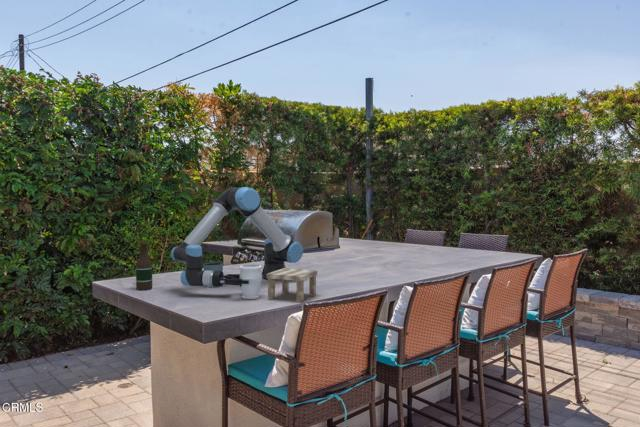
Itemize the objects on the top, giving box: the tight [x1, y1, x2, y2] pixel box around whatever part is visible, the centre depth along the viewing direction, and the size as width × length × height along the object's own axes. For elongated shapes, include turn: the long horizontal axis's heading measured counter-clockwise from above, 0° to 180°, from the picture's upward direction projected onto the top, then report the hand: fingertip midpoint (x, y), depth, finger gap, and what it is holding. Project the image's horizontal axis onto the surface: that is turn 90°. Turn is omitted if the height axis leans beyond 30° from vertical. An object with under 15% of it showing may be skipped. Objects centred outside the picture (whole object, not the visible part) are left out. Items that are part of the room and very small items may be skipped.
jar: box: [239, 264, 263, 300], centre depth 229 cm, size 11×10×15 cm
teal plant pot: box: [202, 261, 224, 289], centre depth 256 cm, size 10×10×12 cm
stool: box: [267, 267, 318, 304], centre depth 230 cm, size 18×18×12 cm
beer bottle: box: [135, 241, 153, 291], centre depth 248 cm, size 8×8×24 cm
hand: (259, 279), depth 228 cm, fingers closed on jar, 10 cm apart
